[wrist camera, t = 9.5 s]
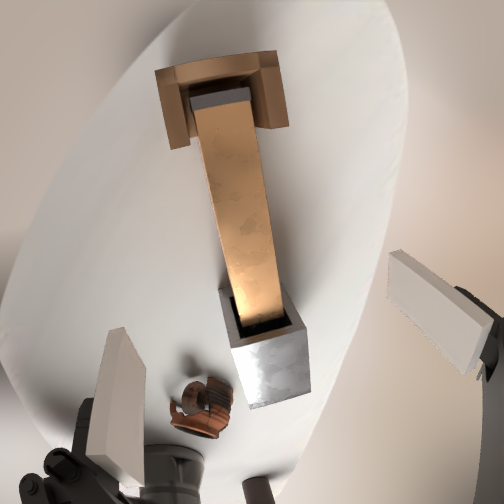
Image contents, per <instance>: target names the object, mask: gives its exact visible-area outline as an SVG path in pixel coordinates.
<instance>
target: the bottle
mask: <svg viewBox="0 0 504 504" xmlns="http://www.w3.org/2000/svg"><path fill="white" fill-rule="evenodd" d="M242 486H243V491H244V495H245V499H246V503H247V504H275V501H274V498H273V495H272V491H271V488H270V485H269V481H268V479H267V478H265V477H255V478H251V479H248V480H246V481H244V482H243V483H242Z"/></svg>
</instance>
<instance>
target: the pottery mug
mask: <svg viewBox="0 0 504 504" xmlns="http://www.w3.org/2000/svg"><path fill="white" fill-rule="evenodd" d="M206 404H209V411H208V410H204V409H205V406H204V405H206ZM232 404H233V390H232V389H231V388H230V387H229V386H228V385H227V384H226V383H223V382H222V381H219V380H216V379H213V378H208V380H207V385H206V387H205V385H204V384H203V383H201V382H199V381H195V382H192V383H190V384H188V385H187V386H186V388H185V389H184V392H183V395H182V409H183V412H184V413H185V414H188V415H186V416H184V414H183V412H180V413H178V412H177V411H176V402H174V401H171V403H170V413H171V416H172V421H171V423H170V424H171V425H173V426H174V427H175V428H177V429H179V430H181V431H183V432H186V433H189V434H192V435H196V436H200V437H204V438H210V439H217V438H219V432H220V431H222V430H223V429H225V428H226V426H227V425H228V422H229V419H230V416H229V414H230V411H231V405H232Z"/></svg>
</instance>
